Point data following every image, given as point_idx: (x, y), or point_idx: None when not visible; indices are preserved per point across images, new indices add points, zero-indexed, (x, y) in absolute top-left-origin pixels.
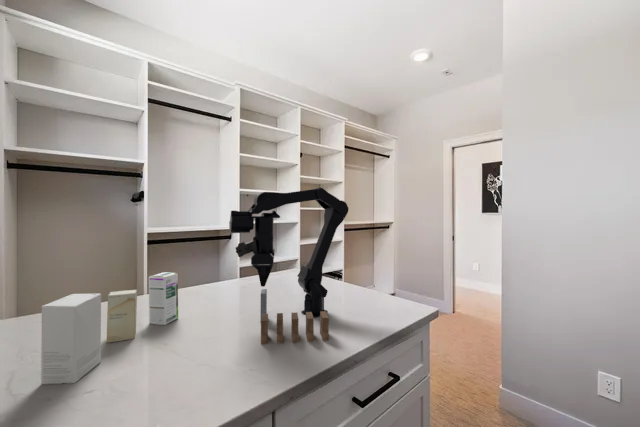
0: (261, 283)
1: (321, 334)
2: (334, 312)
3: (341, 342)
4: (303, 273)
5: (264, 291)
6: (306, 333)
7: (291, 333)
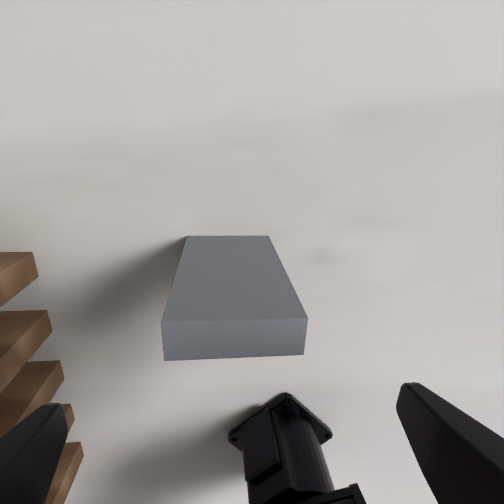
0: (6, 443)
1: None
2: None
3: None
4: None
5: (228, 344)
6: None
7: (48, 365)
